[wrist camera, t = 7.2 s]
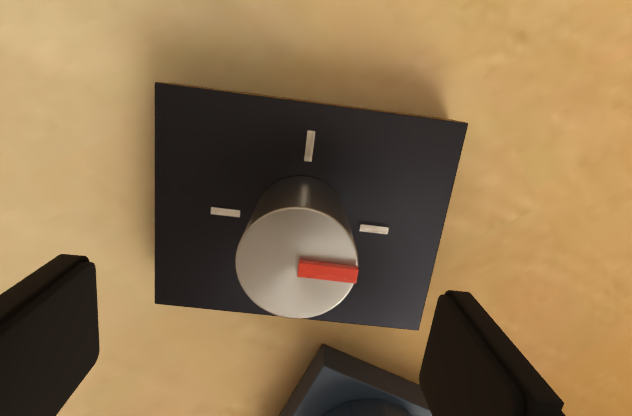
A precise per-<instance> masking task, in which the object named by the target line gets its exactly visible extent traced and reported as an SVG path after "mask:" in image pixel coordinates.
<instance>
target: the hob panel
mask: <svg viewBox="0 0 632 416" xmlns="http://www.w3.org/2000/svg"><path fill="white" fill-rule="evenodd" d="M467 126H468V123H465V122H460V121H455V120H450V119H444V118H436V117H428V116H421V115H413V114H405V113H398V112H390V111H382V110H375V109H367V108H359V107H352V106H344V105H337V104H329V103H321V102H314V101H306V100H298V99H291V98H283V97H275V96H268V95H260V94H252V93H245V92H237V91H230V90H222V89H214V88H207V87H199V86H191V85H184V84H176V83H161V82H155V304H163V305H173V306H183V307H193V308H203V309H213V310H222V311H232V312H242V313H252V314H262V315H271V316H277V315H274V314H272V313H269V312H267V311H266V310H264V309H262V308H261V307H259V306H258V305H257V304H255V303H254V302H253V301H252V300H251V299H250V298H249V297H248V295H247V294H246V293H245V291H244V290H243V288H242V286H241V284H240V282H239V280H238V276H237V273H236V265H235V261H236V251H237V248H238V244H239V242H240V240H241V238H242V236H243V233H244V231H245V229H246V227H247V225H248V223H249V221H250V219H251V217H252V215H253V212H254V210H255V208H256V206H257V204H258V202H259V200H260V198H261V196H262V195H263V194H264V192H265V191H266V190H267V189H268V188H269V187H270V186H272V185H273V184H275V183H276V182H278V181H280V180H282V179H285V178H288V177H293V176H307V177H312V178H315V179H318V180H320V181H323V182H324V183H326V184H327V185H329V186H330V187H331V188H332V189H334V191H335V192H336V193H337V194H338V195H339V197H340V198H341V200H342V202H343V205H344V208H345V211H346V215H347V218H348V221H349V225H350V228H351V232H352V235H353V239H354V242H355V246H356V249H357V254H358V270H359V271H358V277H357V282H356V283H354V285H353V287H352V288H351V290H350V292H349V293H348V294H347V296H346V297H345V298H344V299H343V300H342V301H341V302H340V303H339V304H338V305H337V306H335V307H334V308H332V309H331V310H329V311H327V312H325V313H323V314H321V315H317V316H314V317H309V318H301V319H311V320H320V321H330V322H340V323H350V324H360V325H370V326H379V327H389V328H399V329H409V330H419V326H420V322H421V318H422V313H423V309H424V305H425V301H426V297H427V293H428V288H429V284H430V280H431V276H432V272H433V268H434V263H435V259H436V255H437V251H438V247H439V243H440V238H441V234H442V230H443V226H444V222H445V218H446V213H447V209H448V205H449V201H450V197H451V193H452V189H453V184H454V180H455V176H456V172H457V168H458V164H459V159H460V155H461V151H462V147H463V143H464V139H465V134H466V130H467Z"/></svg>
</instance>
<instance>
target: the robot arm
mask: <svg viewBox="0 0 632 416" xmlns="http://www.w3.org/2000/svg"><path fill="white" fill-rule="evenodd" d="M98 355H99V330H98V309H97V288H96V268H95V265H94V263H93V262H89V259H88V258H87V257H86V256H78V255H67V254H61V255H58V256H57V257H55V258H54V259H53V260H51V261H50V262H48V263H47V264H45V265H44V266H42V267H41V268H39V269H38V270H36V271H35V272H33V273H32V274H30V275H29V276H27V277H26V278H24V279H23V280H21V281H20V282H18V283H17V284H16V285H14V286H13V287H11V288H10V289H8V290H7V291H5V292H4V293H2V294H1V295H0V416H56V415H57V413H58V412H59V411H60V409H61V408H62V407H63V405H64V404H65V403H66V401H67V400H68V399H69V397H70V396H71V395H72V393H73V392H74V391H75V390H76V388H77V387H78V386H79V384H80V383H81V382H82V380H83V379H84V378H85V376H86V375H87V374H88V372H89V371H90V370H91V368H92V367H93V366H94V364H95V363H96V361H97V358H98ZM419 382H420V387H421V390H422V392H423V395H424V397H425V400H426V402H427V404H428V407H429V409H430V412H431V414H432V416H565V415H564V413H563V412H562V411H561V410H562V407H563V405H564V402H563V401H562V400H561V399H560V398H559V397H558V395H557V394H556V393H555V392H554V391H553V389H552V388H551V387H550V386H549V385H548V384H547V382H546V381H545V380H544V379H543V378H542V377H541V375H540V374H539V373H538V372H537V371H536V370H535V368H534V367H533V366H532V365H531V364H530V363H529V361H528V360H527V359H526V358H525V357H524V355H523V354H522V353H521V352H520V351H519V350H518V348H517V347H516V346H515V345H514V344H513V343H512V341H511V340H510V339H509V338H508V337H507V336H506V334H505V333H504V332H503V331H502V330H501V329H500V327H499V326H498V325H497V324H496V323H495V322H494V320H493V319H492V318H491V317H490V316H489V314H488V313H487V312H486V311H485V310H484V309H483V307H482V306H481V305H480V304H479V303H478V302H477V300H476V299H475V298H474V297H473V296H472V295H471V294H470V293H469V292H462V291H451V290H448V291H446V293H445V295H440V296H439V298H438V301H437V305H436V309H435V313H434V317H433V321H432V325H431V330H430V334H429V338H428V342H427V346H426V350H425V354H424V358H423V362H422V366H421V370H420V375H419Z"/></svg>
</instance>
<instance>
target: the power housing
mask: <svg viewBox="0 0 632 416" xmlns="http://www.w3.org/2000/svg"><path fill="white" fill-rule="evenodd" d="M279 416H432V414H431V412H430V409H429V407H428V404H427V402H426V400H425V397H424V395H423V392H422V390H421V387H420V385H417V384H415V383H413V382H410V381H408V380H406V379H403V378H401V377H399V376H396V375H394V374H392V373H389V372H387V371H385V370H382V369H380V368H378V367H375V366H373V365H371V364H368V363H366V362H364V361H361V360H359V359H357V358H354V357H352V356H350V355H347V354H345V353H343V352H340V351H338V350H336V349H333V348H331V347H329V346H326V345H324V344H322V346H321V347H320V349H319V351H318V352H317V354H316V356H315V357H314V359H313V361H312V362H311V364H310V366H309V367H308V369H307V370H306V372H305V374H304V375H303V377H302V379H301V380H300V382H299V384H298V385H297V387H296V389H295V390H294V392H293V393H292V395H291V397H290V398H289V400H288V402H287V403H286V405H285V407H284V408H283V410H282V412H281V413H280V415H279Z"/></svg>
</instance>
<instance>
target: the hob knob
mask: <svg viewBox="0 0 632 416" xmlns="http://www.w3.org/2000/svg"><path fill="white" fill-rule="evenodd" d="M235 265H236V273H237V276H238V280H239V282H240V284H241V286H242V288H243V290H244V291H245V293H246V294H247V295H248V297H249V298H250V299H251V300H252V301H253V302H254V303H255V304H257V305H258V306H259V307H261V308H262V309H264V310H266V311H267V312H269V313H272V314H274V315H277V316H281V317H285V318H294V319H301V318H309V317H314V316H317V315H321V314H323V313H325V312H327V311H329V310H331V309H332V308H334V307H335V306H337V305H338V304H339V303H340V302H341V301H342V300H343V299H344V298H345V297H346V296H347V294H348V293H349V292H350V290H351V288H352V287H353V285H354V283H356V282H357V277H358V271H359V270H358V254H357V249H356V246H355V242H354V239H353V235H352V232H351V228H350V225H349V221H348V218H347V215H346V211H345V208H344V205H343V202H342V200H341V198H340V197H339V195H338V194H337V193H336V192H335V191H334V189H332V188H331V187H330V186H329V185H327V184H326V183H324V182H323V181H320V180H318V179H315V178H312V177H307V176H293V177H288V178H285V179H282V180H280V181H278V182H276V183H275V184H273V185H272V186H270V187H269V188H268V189H267V190H266V191H265V192H264V194H263V195H262V196H261V198H260V200H259V202H258V204H257V206H256V208H255V210H254V212H253V215H252V217H251V219H250V221H249V223H248V225H247V227H246V229H245V231H244V233H243V236H242V238H241V240H240V242H239V244H238V248H237V251H236V261H235Z"/></svg>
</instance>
